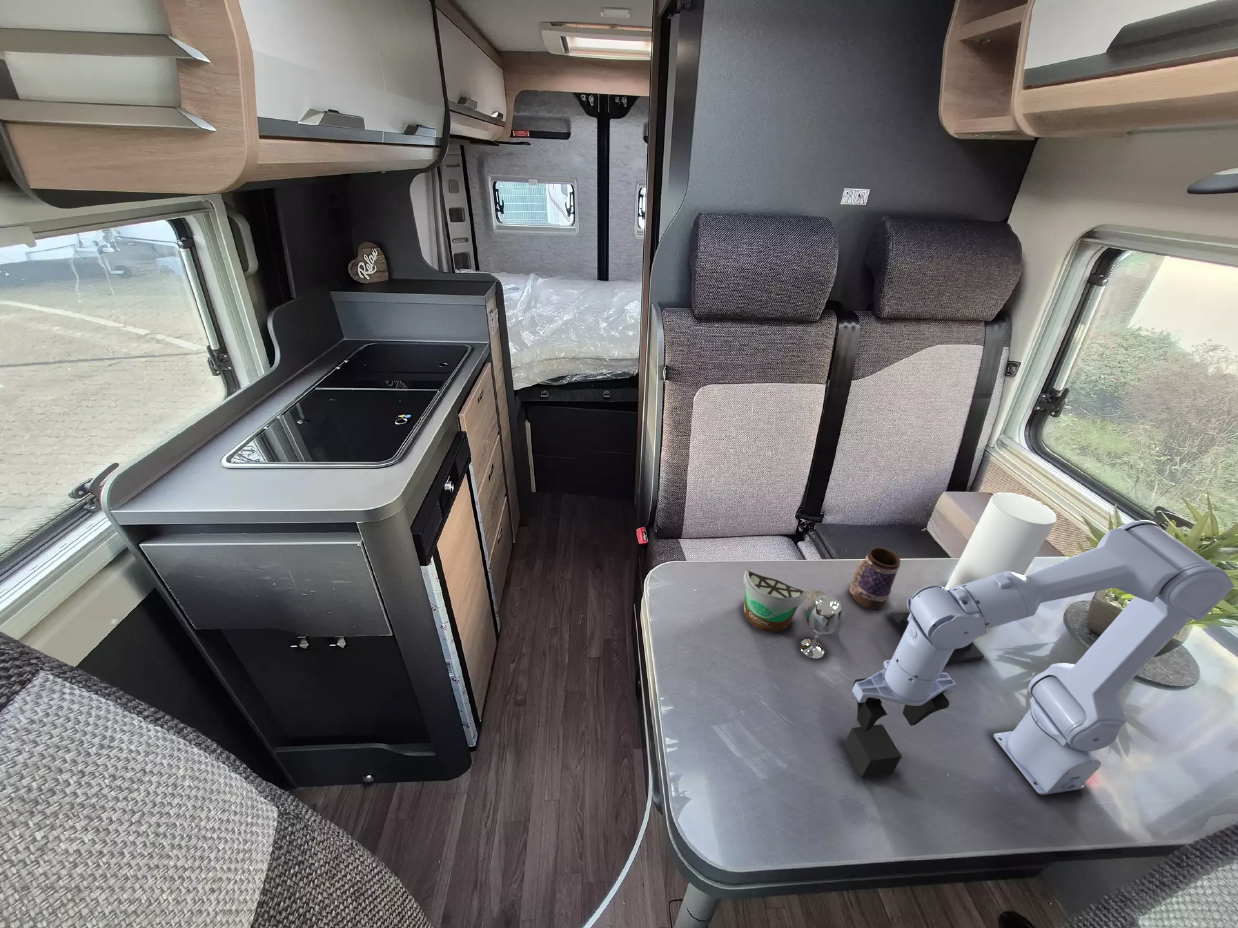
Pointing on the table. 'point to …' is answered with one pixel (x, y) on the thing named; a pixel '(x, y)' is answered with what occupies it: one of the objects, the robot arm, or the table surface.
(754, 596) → the food container
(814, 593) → the toy character
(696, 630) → the table surface
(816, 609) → the wineglass
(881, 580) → the mug
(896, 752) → the black block
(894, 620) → the base pad
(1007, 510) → the tall pillar cylinder
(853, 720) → the table surface
